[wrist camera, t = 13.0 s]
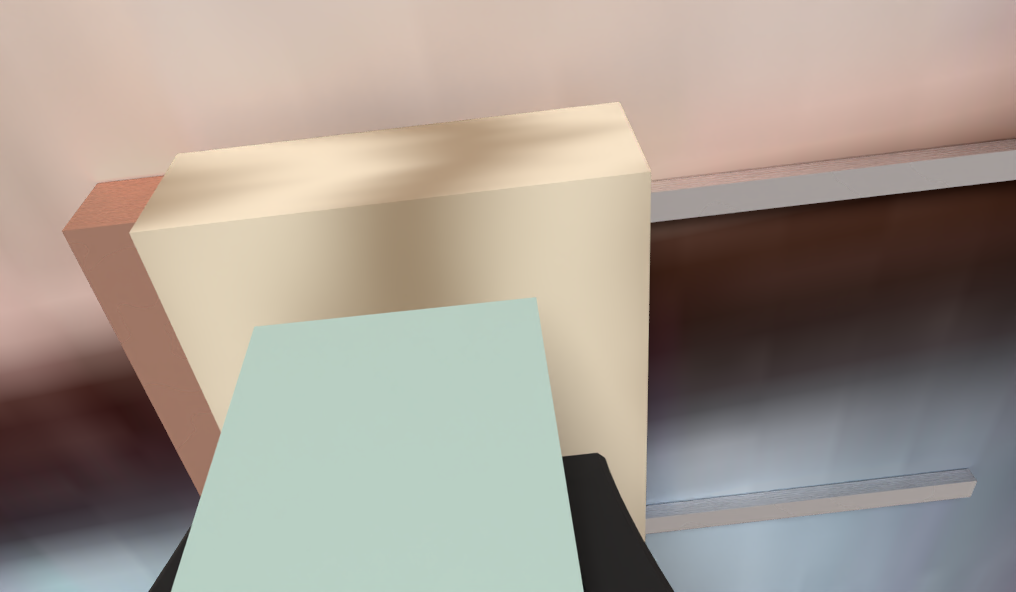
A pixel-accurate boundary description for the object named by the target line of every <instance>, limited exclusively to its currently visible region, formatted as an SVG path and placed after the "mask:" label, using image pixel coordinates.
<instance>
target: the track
mask: <svg viewBox="0 0 1016 592" xmlns="http://www.w3.org/2000/svg"><path fill="white" fill-rule="evenodd" d="M163 177H164V176H156V177H148V178H139V179H131V180H122V181H114V182H105V183H97V185H96V186H95V187H94V189H93V190H92V191H91V193H90V194H89V195H88V197H87V198H86V199H85V201H84V202H83V203H82V205H81V206H80V207H79V209H78V210H77V212H76V213H75V214H74V216H73V217H72V218H71V220H70V221H69V222H68V224H67V225H66V226H65V228H64V229H63V230H62V232H63V234H64V236H65V238H66V240H67V242H68V243H69V245H70V247H71V249H72V251H73V253H74V255H75V257H76V259H77V261H78V263H79V265H80V266H81V268H82V270H83V272H84V274H85V276H86V278H87V280H88V282H89V284H90V286H91V288H92V289H93V291H94V293H95V295H96V297H97V299H98V301H99V303H100V305H101V307H102V309H103V311H104V312H105V314H106V316H107V318H108V320H109V322H110V324H111V326H112V328H113V330H114V332H115V334H116V335H117V337H118V339H119V341H120V343H121V345H122V347H123V349H124V351H125V353H126V355H127V357H128V358H129V360H130V362H131V364H132V366H133V368H134V370H135V372H136V374H137V376H138V378H139V380H140V381H141V383H142V385H143V387H144V389H145V391H146V393H147V395H148V397H149V399H150V401H151V403H152V404H153V406H154V408H155V410H156V412H157V414H158V416H159V418H160V420H161V422H162V424H163V426H164V427H165V429H166V431H167V433H168V435H169V437H170V439H171V441H172V443H173V445H174V447H175V449H176V450H177V452H178V454H179V456H180V458H181V460H182V462H183V464H184V466H185V468H186V470H187V472H188V473H189V475H190V477H191V479H192V481H193V483H194V485H195V487H196V489H197V491H198V493H199V495H200V496H201V495H202V492H203V488H204V485H205V482H206V479H207V476H208V472H209V469H210V466H211V463H212V460H213V457H214V453H215V450H216V447H217V444H218V441H219V437H220V434H221V431H220V429H219V427H218V425H217V422H216V420H215V418H214V416H213V414H212V412H211V409H210V407H209V405H208V403H207V401H206V399H205V396H204V394H203V392H202V390H201V388H200V385H199V383H198V381H197V379H196V377H195V375H194V372H193V370H192V368H191V366H190V364H189V362H188V359H187V357H186V355H185V353H184V351H183V349H182V346H181V344H180V342H179V340H178V338H177V336H176V333H175V331H174V329H173V327H172V325H171V323H170V320H169V318H168V316H167V314H166V312H165V310H164V307H163V305H162V303H161V301H160V299H159V297H158V294H157V292H156V290H155V288H154V286H153V284H152V281H151V279H150V277H149V275H148V273H147V271H146V268H145V266H144V264H143V262H142V260H141V258H140V255H139V253H138V251H137V249H136V247H135V245H134V242H133V240H132V238H131V236H130V234H129V232H130V231H131V229H132V227H133V226H134V224H135V223H136V221H137V219H138V218H139V216H140V214H141V213H142V211H143V209H144V208H145V206H146V204H147V203H148V201H149V200H150V198H151V196H152V195H153V193H154V191H155V190H156V188H157V186H158V185H159V183H160V182H161V180H162V178H163ZM1009 180H1016V139H1011V140H1002V141H994V142H985V143H977V144H968V145H960V146H951V147H943V148H934V149H926V150H917V151H908V152H900V153H891V154H883V155H874V156H866V157H857V158H849V159H840V160H832V161H823V162H815V163H806V164H798V165H789V166H781V167H772V168H764V169H755V170H747V171H738V172H730V173H721V174H713V175H704V176H696V177H687V178H679V179H670V180H661V181H653V182H651V215H650V222H659V221H667V220H676V219H685V218H693V217H702V216H710V215H719V214H727V213H736V212H744V211H753V210H761V209H770V208H778V207H787V206H796V205H804V204H813V203H821V202H830V201H838V200H847V199H855V198H864V197H872V196H881V195H889V194H898V193H907V192H915V191H924V190H932V189H941V188H949V187H958V186H966V185H975V184H983V183H992V182H1000V181H1009ZM976 482H977V480H976V478H975V477H974V476H973V474H972V473H971V471H970V470H969V469H962V470H953V471H944V472H936V473H927V474H918V475H910V476H901V477H892V478H883V479H875V480H866V481H857V482H849V483H840V484H831V485H823V486H814V487H805V488H797V489H788V490H779V491H770V492H762V493H753V494H744V495H736V496H727V497H718V498H710V499H701V500H692V501H684V502H675V503H666V504H658V505H649V506H646V521H645V534H650V533H659V532H668V531H676V530H685V529H694V528H702V527H711V526H720V525H729V524H737V523H746V522H755V521H763V520H772V519H781V518H790V517H798V516H807V515H816V514H824V513H833V512H842V511H850V510H859V509H868V508H877V507H885V506H894V505H903V504H911V503H920V502H929V501H938V500H946V499H955V498H964V497H971V494H972V492H973V490H974V487H975V485H976Z"/></svg>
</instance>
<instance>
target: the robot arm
mask: <svg viewBox="0 0 1016 592" xmlns="http://www.w3.org/2000/svg"><path fill="white" fill-rule="evenodd" d="M562 461H563V467H564V473H565V479H566V486H567V492H568V498H569V504H570V510H571V517H572V523H573V529H574V535H575V541H576V548H577V554H578V560H579V566H580V572H581V579H582V585H583V591H584V592H674V591H673V589H672V588H671V586H670V584H669V583H668V581H667V579H666V578H665V576H664V574H663V573H662V571H661V569H660V568H659V566H658V564H657V563H656V561H655V560H654V558H653V556H652V554H651V552H650V551H649V549H648V547H647V545H646V544H645V542H644V540H643V538H642V536H641V534H640V533H639V531H638V529H637V527H636V525H635V523H634V521H633V519H632V517H631V516H630V514H629V512H628V510H627V508H626V506H625V504H624V501H623V499H622V497H621V495H620V493H619V491H618V489H617V486H616V484H615V482H614V479H613V477H612V475H611V472H610V470H609V467H608V464H607V461H606V459H605V457H603V456H602V455H600V454H599V453H589V454H580V455H571V456H562ZM191 526H192V525H191ZM191 526H190V528H189V530H188V531H187V533H186V534H185V536H184V537H183V539H182V541H181V542H180V544H179V545H178V547H177V549H176V550H175V552H174V553H173V555H172V556H171V558H170V559H169V561H168V563H167V564H166V566H165V567H164V569H163V570H162V572H161V573H160V575H159V576H158V578H157V579H156V581H155V582H154V584H153V586H152V587H151V589H150V590H149V592H171V590H172V587H173V584H174V581H175V577H176V574H177V571H178V568H179V565H180V561H181V558H182V555H183V552H184V549H185V546H186V542H187V539H188V536H189V533H190V530H191Z"/></svg>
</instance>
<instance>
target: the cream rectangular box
mask: <svg viewBox="0 0 1016 592" xmlns="http://www.w3.org/2000/svg"><path fill="white" fill-rule="evenodd" d="M650 215H651V170H650V168H649V166H648V163H647V161H646V159H645V157H644V155H643V152H642V150H641V148H640V146H639V144H638V141H637V139H636V137H635V135H634V133H633V130H632V128H631V126H630V124H629V122H628V119H627V117H626V115H625V113H624V110H623V108H622V106H621V104H620V102H614V103H606V104H597V105H589V106H580V107H572V108H563V109H555V110H546V111H538V112H529V113H521V114H512V115H504V116H496V117H487V118H479V119H470V120H462V121H453V122H445V123H436V124H428V125H419V126H411V127H402V128H394V129H385V130H377V131H368V132H360V133H351V134H343V135H335V136H326V137H318V138H309V139H301V140H292V141H284V142H275V143H267V144H258V145H250V146H241V147H233V148H224V149H216V150H207V151H199V152H190V153H182V154H177V155H176V157H175V159H174V160H173V162H172V164H171V165H170V167H169V168H168V170H167V172H166V173H165V175H164V177H163V178H162V180H161V182H160V183H159V185H158V186H157V188H156V190H155V191H154V193H153V195H152V196H151V198H150V200H149V201H148V203H147V204H146V206H145V208H144V209H143V211H142V213H141V214H140V216H139V218H138V219H137V221H136V223H135V224H134V226H133V227H132V229H131V231H130V232H129V234H130V236H131V238H132V240H133V242H134V245H135V247H136V249H137V251H138V253H139V255H140V258H141V260H142V262H143V264H144V266H145V268H146V271H147V273H148V275H149V277H150V279H151V281H152V284H153V286H154V288H155V290H156V292H157V294H158V297H159V299H160V301H161V303H162V305H163V307H164V310H165V312H166V314H167V316H168V318H169V320H170V323H171V325H172V327H173V329H174V331H175V333H176V336H177V338H178V340H179V342H180V344H181V346H182V349H183V351H184V353H185V355H186V357H187V359H188V362H189V364H190V366H191V368H192V370H193V372H194V375H195V377H196V379H197V381H198V383H199V385H200V388H201V390H202V392H203V394H204V396H205V399H206V401H207V403H208V405H209V407H210V409H211V412H212V414H213V416H214V418H215V420H216V422H217V425H218V427H219V429H220V431H222V428H223V425H224V422H225V418H226V415H227V412H228V409H229V406H230V402H231V399H232V396H233V393H234V390H235V387H236V383H237V380H238V377H239V374H240V371H241V368H242V364H243V361H244V358H245V355H246V352H247V348H248V345H249V342H250V339H251V336H252V333H253V329H254V327H256V326H266V325H275V324H285V323H294V322H304V321H313V320H323V319H332V318H342V317H352V316H361V315H371V314H380V313H390V312H399V311H409V310H418V309H428V308H438V307H447V306H457V305H466V304H476V303H485V302H495V301H505V300H514V299H524V298H533V297H536V299H537V306H538V312H539V318H540V324H541V330H542V337H543V343H544V349H545V355H546V361H547V368H548V374H549V380H550V386H551V392H552V399H553V405H554V411H555V417H556V423H557V430H558V436H559V442H560V448H561V455H562V456H571V455H580V454H589V453H599V454H600V455H602V456H603V457H605V459H606V461H607V464H608V467H609V470H610V472H611V475H612V477H613V479H614V482H615V484H616V486H617V489H618V491H619V493H620V495H621V497H622V499H623V501H624V504H625V506H626V508H627V510H628V512H629V514H630V516H631V517H632V519H633V521H634V523H635V525H636V527H637V529H638V531H639V533H640V534H641V536H642V538H643V540H644V542H645V521H646V460H647V399H648V337H649V276H650Z"/></svg>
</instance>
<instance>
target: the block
mask: <svg viewBox="0 0 1016 592" xmlns="http://www.w3.org/2000/svg"><path fill="white" fill-rule="evenodd" d="M171 592H584V591H583V585H582V579H581V572H580V566H579V560H578V554H577V548H576V541H575V535H574V529H573V523H572V517H571V510H570V504H569V498H568V492H567V486H566V479H565V473H564V467H563V461H562V455H561V448H560V442H559V436H558V430H557V423H556V417H555V411H554V405H553V399H552V392H551V386H550V380H549V374H548V368H547V361H546V355H545V349H544V343H543V337H542V330H541V324H540V318H539V312H538V306H537V299H536V297H533V298H524V299H514V300H505V301H495V302H485V303H476V304H466V305H457V306H447V307H438V308H428V309H418V310H409V311H399V312H390V313H380V314H371V315H361V316H352V317H342V318H332V319H323V320H313V321H304V322H294V323H285V324H275V325H266V326H256V327H254V329H253V333H252V336H251V339H250V342H249V345H248V348H247V352H246V355H245V358H244V361H243V364H242V368H241V371H240V374H239V377H238V380H237V383H236V387H235V390H234V393H233V396H232V399H231V402H230V406H229V409H228V412H227V415H226V418H225V422H224V425H223V428H222V431H221V434H220V437H219V441H218V444H217V447H216V450H215V453H214V457H213V460H212V463H211V466H210V469H209V472H208V476H207V479H206V482H205V485H204V488H203V492H202V495H201V498H200V501H199V504H198V507H197V511H196V514H195V517H194V520H193V523H192V526H191V530H190V533H189V536H188V539H187V542H186V546H185V549H184V552H183V555H182V558H181V561H180V565H179V568H178V571H177V574H176V577H175V581H174V584H173V587H172V590H171Z"/></svg>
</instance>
